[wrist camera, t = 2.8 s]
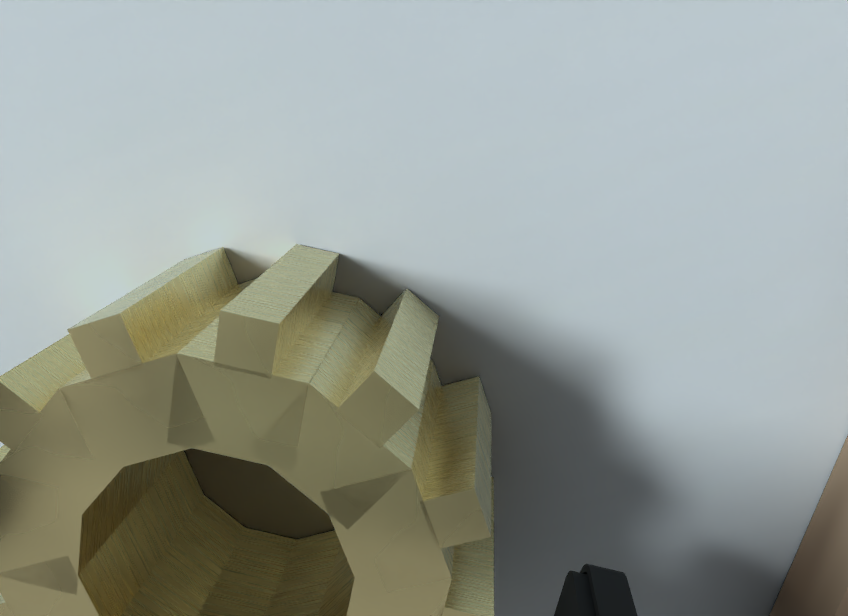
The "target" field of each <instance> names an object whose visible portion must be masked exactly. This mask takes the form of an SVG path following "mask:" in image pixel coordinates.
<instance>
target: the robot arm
mask: <svg viewBox="0 0 848 616" xmlns="http://www.w3.org/2000/svg"><path fill="white" fill-rule="evenodd" d="M554 616H637V613H636V609H635V606H634V602H633V599H632V595H631V592H630V588H629V584H628V581H627V578H626V575H625V574H624V573H623V572H619V571H615V570H611V569H606V568H602V567H598V566H594V565H589V564H585V565H584V566H583V568H582V569H581V572H580V573H579V572H574V571H569V572H568V574H567V576H566V579H565V582H564V585H563V589H562V592H561V595H560V598H559V601H558V605H557V608H556V611H555V614H554Z"/></svg>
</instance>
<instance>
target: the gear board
mask: <svg viewBox="0 0 848 616" xmlns="http://www.w3.org/2000/svg"><path fill="white" fill-rule="evenodd" d="M769 616H848V436H847V438H846V440H845V443H844V445H843V447H842V450H841V452H840V454H839V456H838V459H837V461H836V463H835V466H834V468H833V470H832V473H831V475H830V477H829V479H828V482H827V484H826V486H825V489H824V491H823V493H822V496H821V498H820V500H819V503H818V505H817V507H816V509H815V512H814V514H813V516H812V519H811V521H810V523H809V526H808V528H807V530H806V532H805V535H804V537H803V539H802V542H801V544H800V546H799V549H798V551H797V553H796V555H795V558H794V560H793V562H792V565H791V567H790V569H789V572H788V574H787V576H786V579H785V581H784V583H783V585H782V588H781V590H780V592H779V595H778V597H777V599H776V602H775V604H774V606H773V608H772V611H771V613H770V615H769Z"/></svg>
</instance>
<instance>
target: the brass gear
mask: <svg viewBox="0 0 848 616" xmlns="http://www.w3.org/2000/svg"><path fill="white" fill-rule="evenodd" d="M338 257H339V254H338V253H333V252H329V251H324V250H320V249H315V248H311V247H306V246H302V245H298V244H296V245H295V246H294V247H293V248H292V249H290V250H289V251H288V252H287V253H286V254H285V255H284V256H282V257H281V258H280V259H279V260H278V261H277V262H275V263H274V264H273V265H272V266H271V267H270V268H269V269H267V270H266V271H265V272H264V273H263V274H262V275H260V276H259V277H258V278H257V279H254V280H250V281H247V282H244V283H241V284H238V282H237V280H236V277H235V275H234V273H233V270H232V268H231V265H230V263H229V260H228V258H227V255H226V253H225V251H224V248H223V247H222V248H219V249H216V250H212V251H209V252H206V253H203V254H200V255H197V256H194V257H191V258H188V259H184V260H183V261H181V262H179V263H178V264H176V265H174V266H173V267H171V268H169V269H168V270H166V271H164V272H163V273H161V274H159V275H158V276H156V277H154V278H153V279H151V280H149V281H148V282H146V283H144V284H143V285H141V286H139V287H138V288H136V289H134V290H133V291H131V292H129V293H128V294H126V295H125V296H123V297H121V298H120V299H118V300H116V301H115V302H113V303H111V304H110V305H108V306H106V307H105V308H103V309H101V310H100V311H98V312H96V313H95V314H93V315H91V316H90V317H88V318H86V319H85V320H83V321H81V322H80V323H78V324H76V325H75V326H73V327H71V328H70V329H68V332H69V334H68V335H67V336H65V337H64V338H62V339H60V340H59V341H57V342H55V343H54V344H52V345H50V346H49V347H47V348H46V349H44V350H42V351H41V352H39V353H37V354H36V355H34V356H33V357H31V358H29V359H28V360H26V361H24V362H23V363H21V364H19V365H18V366H16V367H15V368H13V369H11V370H10V371H8V372H6V373H5V374H3V375H2V376H0V441H1V442H2V443H3V444H5V445H3V446H2V447H1V448H0V616H494V492H493V477H491V411H490V408H489V405H488V402H487V399H486V396H485V393H484V390H483V387H482V384H481V381H480V377H479V376H478V377H474V378H470V379H466V380H463V381H459V382H455V383H452V384H448V385H444V386H441V383H440V380H439V377H438V374H437V371H436V368H435V365H434V363H433V361H432V360H431V359H430V357H431V352H432V347H433V343H434V338H435V334H436V329H437V324H438V320H439V316H438V315H437V314H436V313H434V312H433V311H432V310H431V309H430V308H429V307H428V306H426V305H425V304H424V303H423V302H422V301H421V300H420V299H419V298H417V297H416V296H415V295H414V294H413V293H412V292H411V291H409V290H408V289H406V290H405V291H404V292H403V293H402V294H401V295H400V296H399V297H398V298H397V299H396V300H395V302H394V303H393V304H392V305H391V306H390V307H389V308H388V309H387V310H386V311H385V312H384V313H383V314H382V315H381V316H380V315H379V314H378V313H376V312H375V311H374V310H373V309H372V308H371V307H369V306H368V305H367V304H366V303H365V302H364V301H363V300H361V299H359V298H357V297H353V296H349V295H344V294H340V293H335V292H333V286H334V280H335V275H336V269H337V263H338ZM191 448H194V449H198V450H203V451H207V452H211V453H216V454H220V455H225V456H229V457H233V458H238V459H242V460H246V461H251V462H255V463H259V464H264V465H268V466H270V467H271V468H272V469H273V470H274V471H276V472H277V473H278V474H279V475H281V476H282V477H283V478H284V479H286V480H287V481H288V482H289V483H291V484H292V485H293V486H294V487H296V488H297V489H298V490H299V491H300V492H302V493H303V494H304V495H305V496H307V497H308V498H309V499H310V500H312V501H313V502H314V503H315V504H317V505H318V506H319V507H320V508H321V509H323V510H324V511H325V512H326V513H328V514H329V517H330V519H331V521H332V524H333V526H334V529H335V530H334V531H330V532H326V533H322V534H317V535H313V536H309V537H305V538H301V539H297V540H296V539H292V538H288V537H283V536H279V535H275V534H270V533H266V532H262V531H258V530H253V529H249V528H245V527H244V526H243V525H241V524H240V523H239V522H237V521H236V520H235V519H234V518H232V517H231V516H230V515H229V514H227V513H226V512H225V511H224V510H222V509H221V508H220V507H218V506H217V505H216V504H215V503H213V502H212V501H211V500H210V499H208V498H207V497H206V496H205V495H204V494H203V492H202V490H201V488H200V486H199V483H198V481H197V479H196V477H195V475H194V472H193V470H192V468H191V466H190V464H189V462H188V459H187V457H186V455H185V453H184V451H183V450H187V449H191Z"/></svg>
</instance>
